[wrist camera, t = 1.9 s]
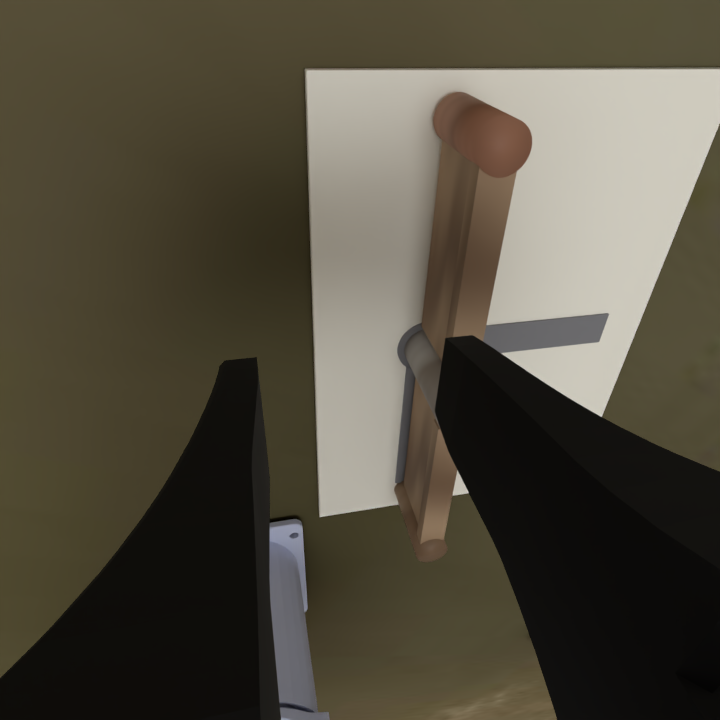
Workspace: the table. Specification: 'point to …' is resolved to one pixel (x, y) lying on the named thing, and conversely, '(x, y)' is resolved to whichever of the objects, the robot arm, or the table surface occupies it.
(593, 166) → the card
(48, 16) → the table surface
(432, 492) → the fixed fence section
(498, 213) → the brown wooden bar
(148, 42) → the table surface
